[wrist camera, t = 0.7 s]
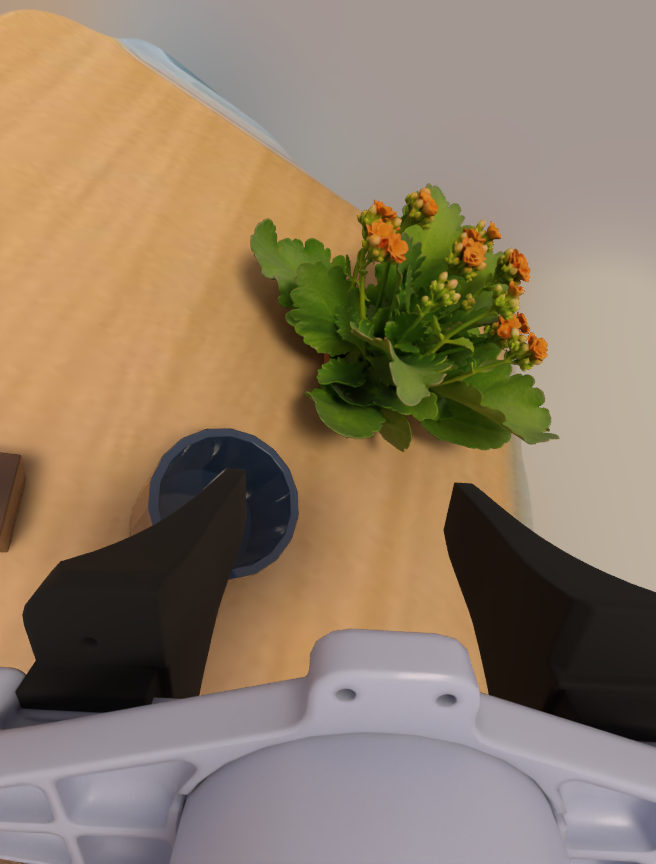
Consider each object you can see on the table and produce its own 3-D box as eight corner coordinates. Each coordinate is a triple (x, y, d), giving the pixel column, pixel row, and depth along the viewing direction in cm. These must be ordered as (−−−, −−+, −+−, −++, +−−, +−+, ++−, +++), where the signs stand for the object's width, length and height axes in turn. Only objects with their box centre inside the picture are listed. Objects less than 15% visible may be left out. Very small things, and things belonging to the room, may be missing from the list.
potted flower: (416, 281, 52) (546, 155, 38) (496, 466, 47) (680, 397, 33) (218, 265, 38) (310, 55, 24) (300, 528, 33) (479, 452, 19)
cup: (184, 620, 27) (218, 616, 21) (100, 512, 26) (111, 480, 21) (277, 534, 32) (324, 513, 26) (207, 444, 31) (239, 403, 26)
